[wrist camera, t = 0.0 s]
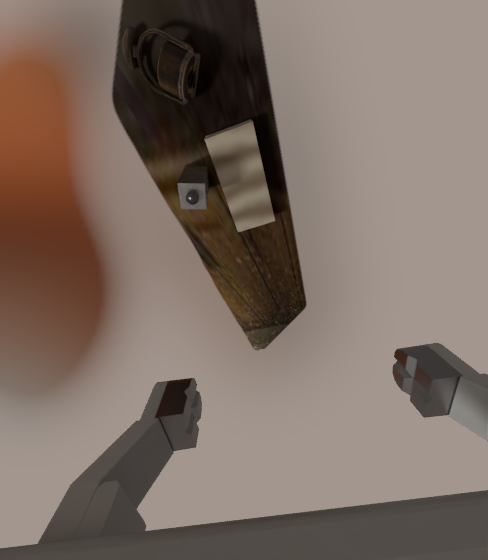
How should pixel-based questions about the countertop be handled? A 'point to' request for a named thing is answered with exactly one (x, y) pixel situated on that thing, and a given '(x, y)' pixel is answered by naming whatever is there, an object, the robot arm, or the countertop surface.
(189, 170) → the aluminium block
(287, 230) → the countertop surface
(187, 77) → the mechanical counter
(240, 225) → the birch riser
